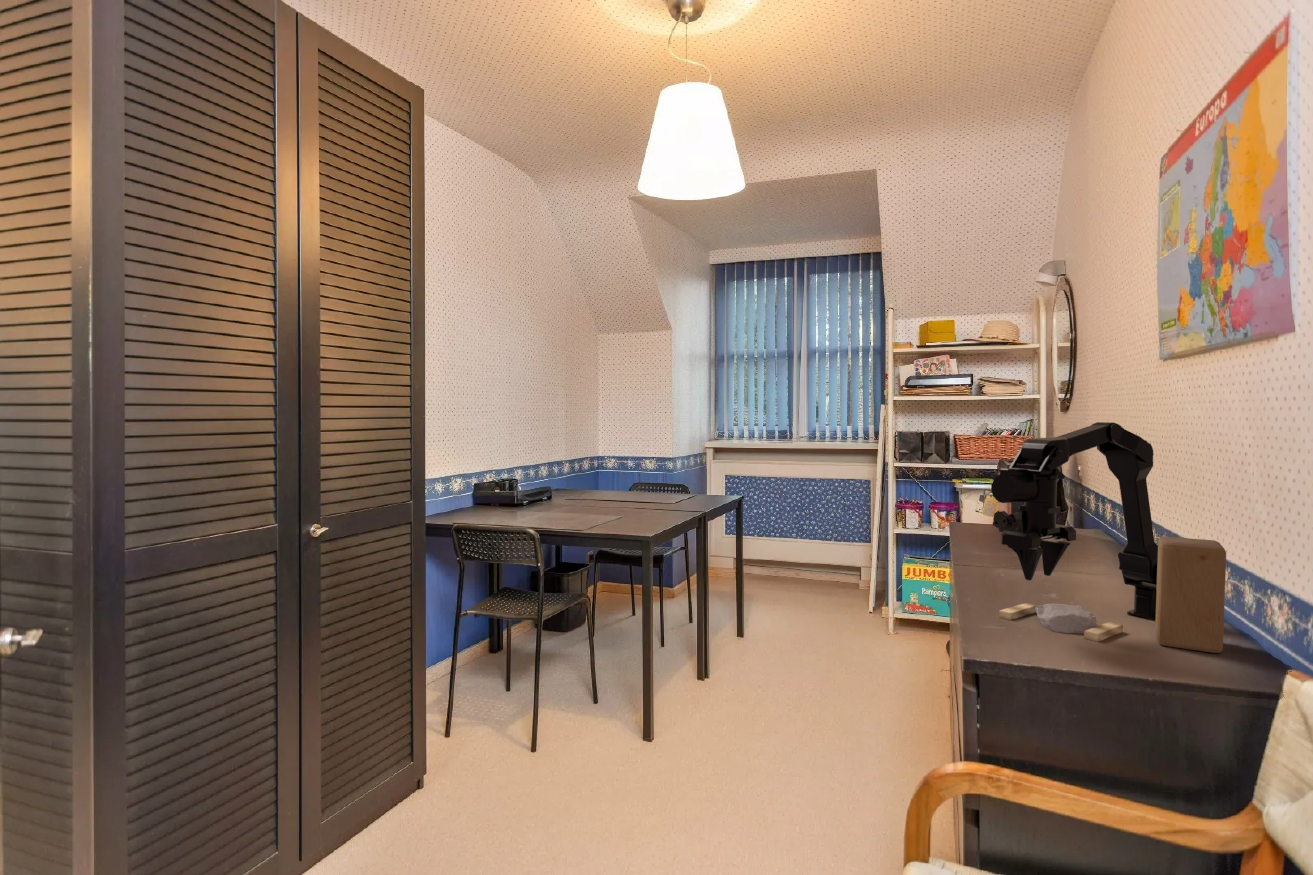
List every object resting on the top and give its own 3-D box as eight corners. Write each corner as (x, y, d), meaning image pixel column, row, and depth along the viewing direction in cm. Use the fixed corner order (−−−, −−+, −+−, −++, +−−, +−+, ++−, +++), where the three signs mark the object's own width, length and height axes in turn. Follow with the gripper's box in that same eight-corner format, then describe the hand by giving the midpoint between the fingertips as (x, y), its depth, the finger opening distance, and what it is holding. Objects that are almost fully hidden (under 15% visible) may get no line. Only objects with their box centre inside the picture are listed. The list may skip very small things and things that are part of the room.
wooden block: (1223, 655, 134) (1227, 548, 133) (1157, 646, 139) (1161, 542, 138) (1216, 641, 142) (1220, 540, 142) (1154, 632, 148) (1158, 535, 147)
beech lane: (1025, 609, 164) (1025, 602, 164) (1122, 631, 148) (1122, 624, 148) (998, 617, 158) (999, 610, 158) (1097, 641, 142) (1097, 634, 142)
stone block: (1049, 641, 148) (1102, 634, 146) (1044, 618, 148) (1097, 611, 146) (1031, 626, 159) (1080, 620, 158) (1027, 604, 160) (1076, 598, 158)
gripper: (1025, 494, 159) (1022, 565, 159) (977, 499, 148) (975, 575, 149) (1078, 500, 150) (1076, 575, 150) (1031, 506, 139) (1029, 586, 139)
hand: (1037, 577), depth 147 cm, fingers open, 7 cm apart
